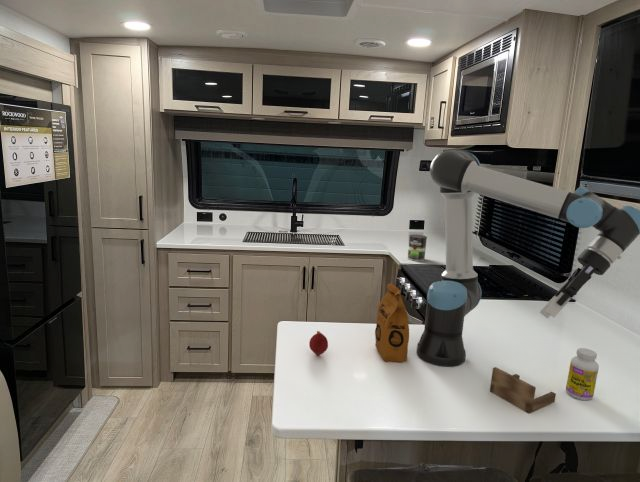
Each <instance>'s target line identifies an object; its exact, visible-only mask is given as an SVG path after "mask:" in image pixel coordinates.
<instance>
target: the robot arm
mask: <svg viewBox="0 0 640 482" xmlns="http://www.w3.org/2000/svg"><path fill="white" fill-rule="evenodd" d="M429 173H430V177H431V179H432V181H433V182H434V183H435V184H436V185H437V186H438V187H439V193H440V195H441V196H442V197H443V198H444V214H445V215H444V218H445V219H444V220H445V223H444V226H445V270H443V272H442V273H441V281H440V280H438V281H435V282H433V283H431V284H430V286H429V288H428V291H427V294H426V307H425V316H424V317H425V319H424V329H423V332H422V334H421V336H420V338H419V341H418V343H417V346H416V355H417V356H418V357H419V358H420V359H422V360H423V361H424V362H427V363H429V364H432V365H436V366H441V367H457V366H460V365H462V364H464V363H465V361H466V356H467V354H466V353H467V351H466V349H465V344H464V338H463V330H464V323H465V322H464V321H465V317H466V316H467V315H469V313H470V312H472V311H473V310H474V309H476V308H477V306H478V305H479V303H480V301H481V299H482V287H481V285H480V283H479V282H478V280H479V277H478V276H479V275H478V273H477V272H476V271H475V270H474V266H473V265H474V264H473V263H474V258H473V257H474V252H473V251H474V249H473V247H474V246H473V243H474V241H473V198H474V196H475V195H476V194H478V195H480V196H485V197H487V198H491V199H495V200H498V201H501V202H503V203H507V204H510V205H513V206H516V207H519V208H520V207H521V208H523V209H526V210H529V211H532V212H536V213H538V214H541V215H545V216H548V217H551V218H555V219H558V220H561V221H564V222H567V223H570V224H571V225H573V226H574V227H576V228H578V229H579V228H580V229H588V228H591V227H593V228H594V229H595V230H597V231H598V232H599V233H598V234H597V235H596V236H595V237H594V238H593V239H592V240H591V242H590V243H589V244H588V245H587V247H586V248H585V249H584V250H583V251H582V252H581V253H580V254H579V255H578V256H577V262H578V263H579V264H581V266H582V267H581V268H580V267H578V268H575V270H574V271H573V272H572V274H571V275H570V276H569V278H568V279H567V281H566V282H565V283H564V285H563V286H561V288H560V289H559V290H558V291H557V292H555V294H554V296H552V298H551V299H550V300H548V302H547V303H546V304H545V306H543V308H542V309H540V311H539V314H541V315H542V316H544V317H545V318H546V319H549V318H550V317H551V316H552V318H555V317H556V316H557V315H558V314H559V313H561V311H562V310H563V309H564V308H565V306H566V305H567V304H568V303H569V302H570V300H571V299H573V298H574V297H575V296H576V295H577V294H578V292H579V291H580V289H582V287H583V286H585V284H586V283H587V282H589V280H590V279H591V278H593V277H592V275H593V274H595V275H598V276H603V275H605V273H606V272H607V271H608V270H609V268H610V267H611V264H613V263H615V262H616V260H621V259H622V254H623V253H624V251H626V249H627V248H628V247H629V246H630V245H631V244H632V243H633V242H634V241H635V240H636V239H637V238H638V237H639V236H640V209H638V208H635V207H634V206H632V205H624V206H622V207H621V208H618V207H616V206H614V205H613V204H611V203H610V202H608V201H606V200H605V199H603V198H602V197H600V196H599V195H597V194H596V193H594V192H593V191H591V190H589V189H587V188H585V187H584V186H580V187H577V189H576V190H575V191H574V192H570V191H567V190H563V189H561V188H556V187H553V186H550V185H546V184H543V183H539V182H536V181H532V180H529V179H525V178H521V177H518V176H516V175H511V174H509V173H504V172H501V171H498V170H494V169H490V168H488V167H487V168H486V167H483V166H481V163H480V161H479V159H478V157H476V155H474V154H473V153H471V152H469V151H467V150H454V149H453V150H444V151H441V152H439V153H438V154H436V155H435V156H434V158H433V159H432V161H431V162H430V166H429Z"/></svg>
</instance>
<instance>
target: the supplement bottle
mask: <svg viewBox="0 0 640 482" xmlns="http://www.w3.org/2000/svg"><path fill="white" fill-rule="evenodd" d="M597 358H598V354H597V352H596V351H594V350H592V349H591V348H590V349H589V348H585V347H584V348H583V347H579V348H577V349H576V356H573V357H572V358H571V360H570V364H569V370H568V374H567V380H566V384H565V391H566V393H567V394H568V395H569V396H570V397H572V398H573V399H577V400H581V401H590V400H592V399H593V398H594V394H595V390H596V383H597V379H598V373H599V368H600V367H599V363H598V362H597V361H596V359H597Z"/></svg>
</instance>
